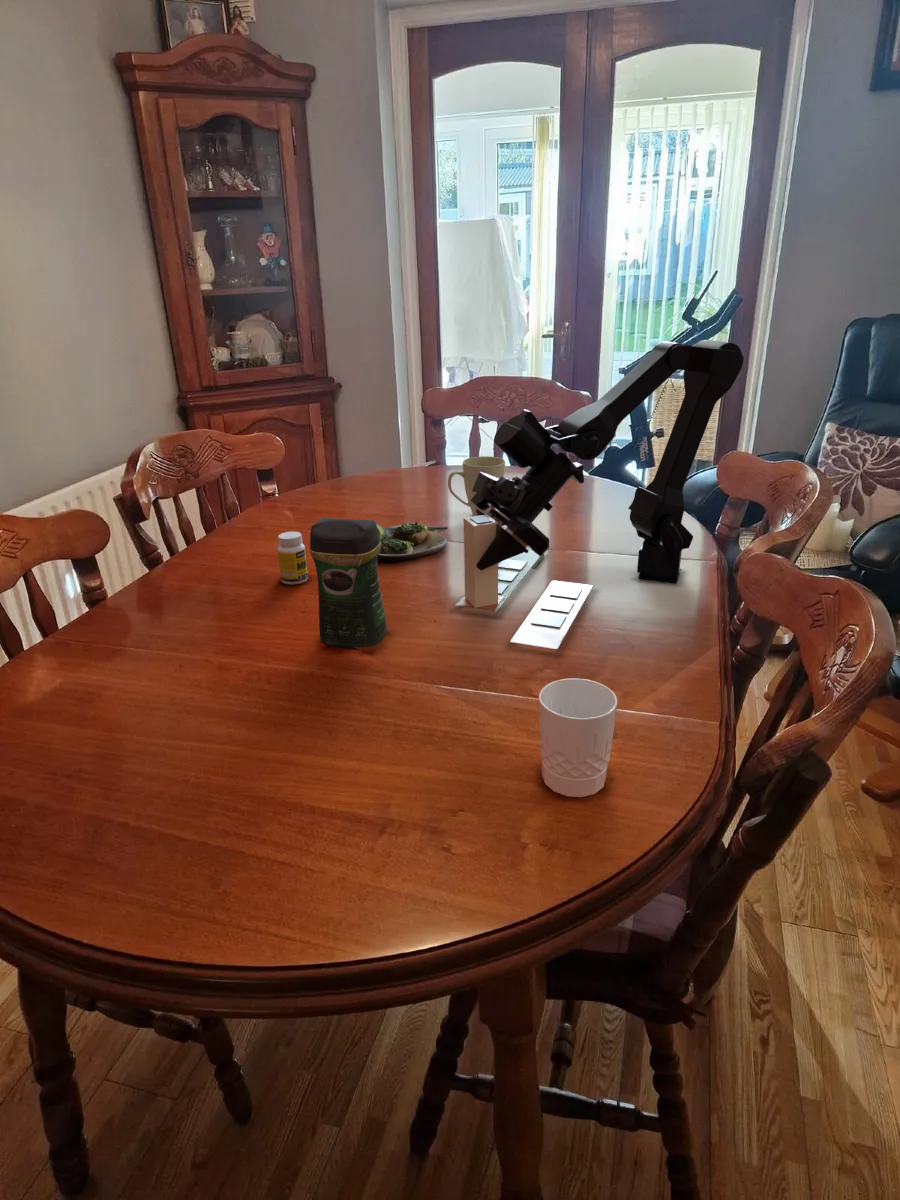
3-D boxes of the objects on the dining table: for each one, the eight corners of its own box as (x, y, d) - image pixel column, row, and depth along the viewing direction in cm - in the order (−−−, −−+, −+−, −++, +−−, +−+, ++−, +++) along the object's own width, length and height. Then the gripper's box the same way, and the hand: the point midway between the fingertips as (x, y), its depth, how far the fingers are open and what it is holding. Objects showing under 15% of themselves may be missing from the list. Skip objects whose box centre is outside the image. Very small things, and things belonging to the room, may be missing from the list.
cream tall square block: (487, 593, 123) (487, 513, 117) (498, 603, 119) (498, 521, 114) (464, 597, 122) (463, 516, 116) (474, 608, 118) (473, 525, 112)
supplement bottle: (302, 586, 131) (297, 540, 127) (276, 584, 131) (271, 539, 128) (312, 575, 135) (307, 531, 131) (287, 574, 136) (282, 530, 132)
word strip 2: (552, 585, 128) (552, 579, 128) (593, 590, 126) (593, 584, 125) (509, 648, 108) (509, 640, 107) (557, 655, 105) (557, 648, 105)
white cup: (530, 758, 84) (532, 680, 80) (600, 753, 84) (605, 675, 80) (544, 804, 77) (547, 721, 73) (620, 798, 77) (627, 716, 73)
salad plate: (430, 524, 159) (430, 503, 158) (470, 550, 145) (469, 527, 143) (343, 540, 152) (342, 518, 150) (375, 568, 137) (374, 544, 135)
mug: (475, 506, 170) (474, 454, 165) (512, 513, 165) (513, 459, 160) (446, 519, 162) (445, 464, 157) (485, 527, 157) (484, 470, 152)
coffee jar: (393, 630, 114) (386, 513, 106) (375, 655, 107) (366, 531, 99) (333, 625, 116) (322, 509, 109) (312, 648, 109) (299, 526, 102)
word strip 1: (508, 552, 143) (508, 546, 143) (543, 556, 141) (544, 550, 140) (454, 611, 120) (454, 604, 119) (496, 617, 117) (496, 610, 117)
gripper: (481, 440, 120) (418, 515, 121) (531, 467, 104) (458, 553, 105) (525, 483, 126) (465, 554, 127) (579, 515, 110) (509, 596, 111)
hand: (472, 563), depth 117 cm, fingers closed on cream tall square block, 4 cm apart
